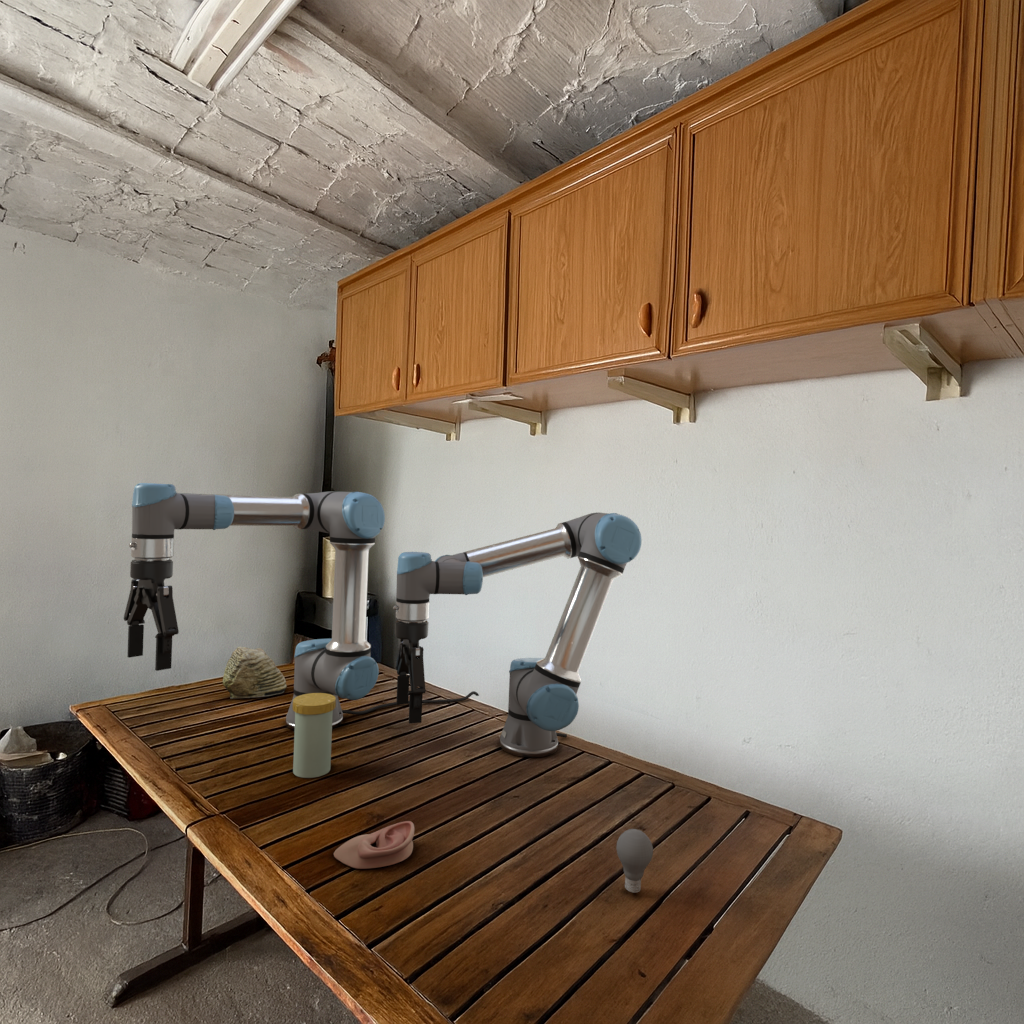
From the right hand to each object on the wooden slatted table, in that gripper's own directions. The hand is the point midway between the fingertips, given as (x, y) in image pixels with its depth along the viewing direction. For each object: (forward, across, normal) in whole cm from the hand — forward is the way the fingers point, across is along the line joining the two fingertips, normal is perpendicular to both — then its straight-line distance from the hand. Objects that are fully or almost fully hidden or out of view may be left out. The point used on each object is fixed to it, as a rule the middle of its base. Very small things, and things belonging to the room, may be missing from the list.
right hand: (408, 712), depth 145 cm
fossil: (+15, -70, -33) cm, 79 cm away
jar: (+15, -9, -20) cm, 27 cm away
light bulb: (+15, +53, +27) cm, 61 cm away
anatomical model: (+15, +29, -12) cm, 35 cm away
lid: (-1, -9, -20) cm, 22 cm away
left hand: (-13, -4, -53) cm, 55 cm away
